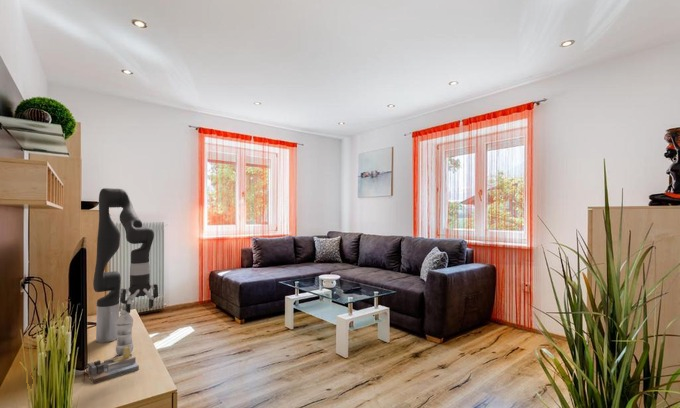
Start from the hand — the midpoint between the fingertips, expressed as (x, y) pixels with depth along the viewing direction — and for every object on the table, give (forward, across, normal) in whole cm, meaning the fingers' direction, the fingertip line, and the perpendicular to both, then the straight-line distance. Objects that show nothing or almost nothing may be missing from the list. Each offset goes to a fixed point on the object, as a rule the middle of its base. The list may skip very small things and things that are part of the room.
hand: (139, 310), depth 147 cm
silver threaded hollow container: (+21, +3, -9) cm, 23 cm away
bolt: (+19, +8, +4) cm, 21 cm away
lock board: (+21, +11, +4) cm, 24 cm away
